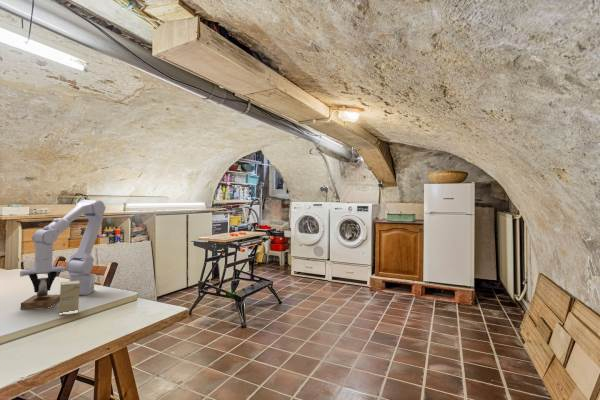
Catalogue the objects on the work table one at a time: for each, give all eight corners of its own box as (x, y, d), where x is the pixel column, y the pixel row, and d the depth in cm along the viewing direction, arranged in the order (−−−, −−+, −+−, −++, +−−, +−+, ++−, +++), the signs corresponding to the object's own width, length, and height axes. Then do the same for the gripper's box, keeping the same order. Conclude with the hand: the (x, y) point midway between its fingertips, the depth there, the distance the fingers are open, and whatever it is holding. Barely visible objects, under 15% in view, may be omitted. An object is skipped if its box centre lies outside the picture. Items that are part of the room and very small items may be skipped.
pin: (46, 293, 136) (47, 277, 136) (48, 295, 134) (49, 278, 134) (35, 295, 133) (36, 278, 133) (37, 297, 131) (38, 280, 131)
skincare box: (58, 316, 123) (60, 284, 123) (58, 312, 126) (60, 281, 126) (78, 313, 127) (80, 282, 127) (78, 309, 130) (79, 280, 130)
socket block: (61, 300, 140) (61, 294, 140) (49, 308, 130) (50, 302, 130) (34, 300, 137) (34, 295, 137) (20, 309, 127) (20, 303, 127)
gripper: (62, 255, 141) (61, 285, 142) (19, 258, 131) (18, 291, 131) (66, 257, 136) (65, 289, 137) (21, 261, 126) (20, 296, 126)
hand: (42, 290), depth 133 cm, fingers closed on pin, 4 cm apart
